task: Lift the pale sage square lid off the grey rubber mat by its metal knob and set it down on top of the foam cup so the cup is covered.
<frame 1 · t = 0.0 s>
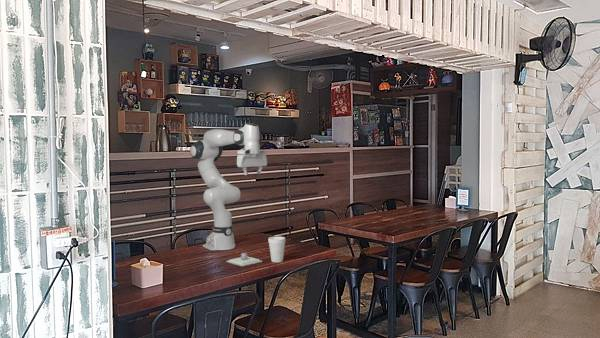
hand: (252, 174, 288), 48 cm above the table, tool pointing down, fingers open, 8 cm apart
lid: (244, 257, 276), on the mat
mat: (244, 261, 276), on the table
foam cup: (277, 261, 277), on the table
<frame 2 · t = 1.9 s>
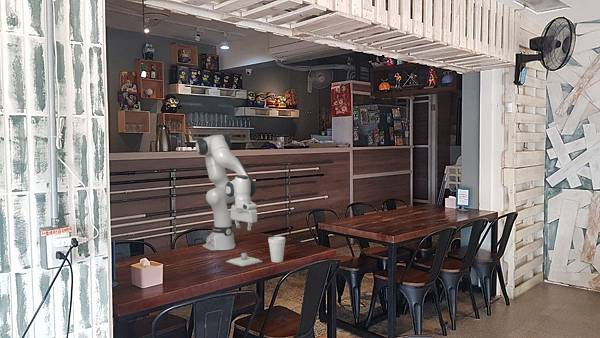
hand: (243, 229, 275), 18 cm above the table, tool pointing down, fingers open, 8 cm apart
nothing on the table moved.
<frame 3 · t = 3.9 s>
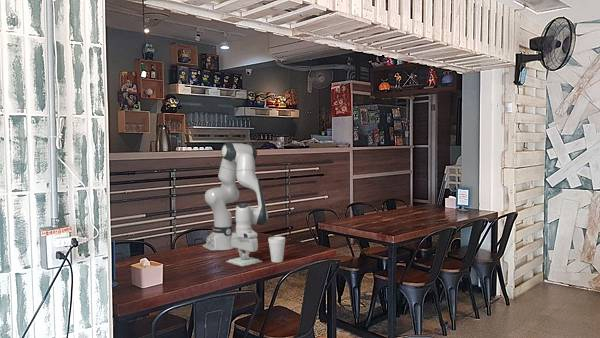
hand: (244, 257, 276), 3 cm above the table, tool pointing down, fingers closed on lid, 3 cm apart
lid: (244, 257, 276), on the mat, touching gripper
everything else where it was.
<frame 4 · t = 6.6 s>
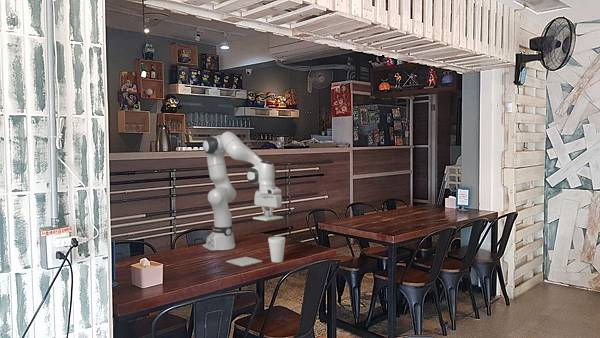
hand: (268, 214, 275), 26 cm above the table, tool pointing down, fingers closed on lid, 3 cm apart
lid: (267, 214, 275), point 26 cm above the table, touching gripper
everything else where it was.
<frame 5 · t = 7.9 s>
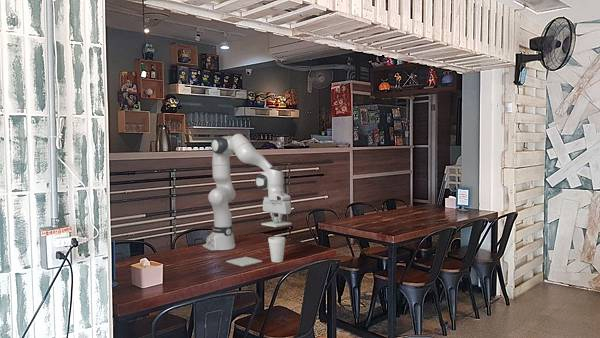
hand: (276, 220, 276), 23 cm above the table, tool pointing down, fingers closed on lid, 3 cm apart
lid: (276, 220, 276), point 23 cm above the table, touching gripper
everything else where it was.
when the fingers open (17 cm above the table, at t = 9.2 s): lid drops 2 cm, resting on foam cup.
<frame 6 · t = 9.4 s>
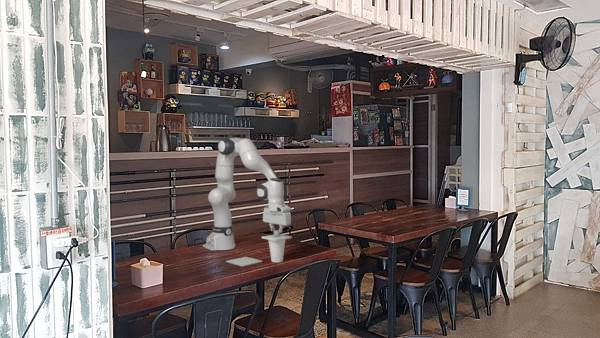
hand: (276, 231, 276), 17 cm above the table, tool pointing down, fingers open, 5 cm apart
lid: (276, 234, 276), point 15 cm above the table, touching foam cup
foam cup: (277, 261, 277), on the table, touching lid
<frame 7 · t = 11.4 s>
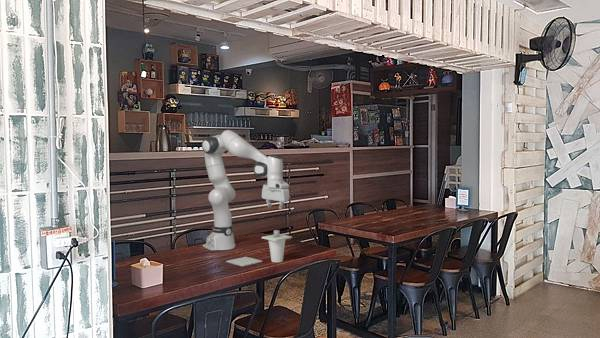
hand: (274, 208, 280), 29 cm above the table, tool pointing down, fingers open, 8 cm apart
nothing on the table moved.
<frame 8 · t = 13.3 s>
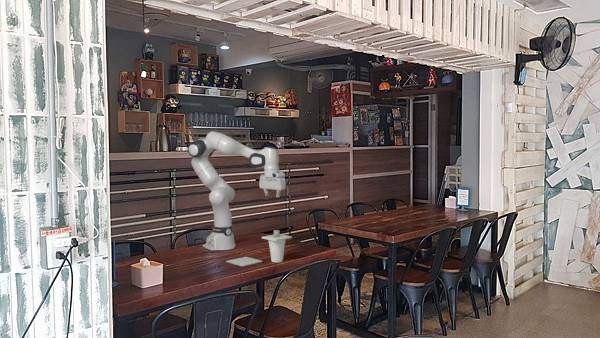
hand: (272, 196, 294), 34 cm above the table, tool pointing down, fingers open, 8 cm apart
nothing on the table moved.
at the end: lid 0.1 cm off-centre on the foam cup, point 15.3 cm above the foam cup's base; foam cup tilted 0°; lid touching foam cup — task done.
